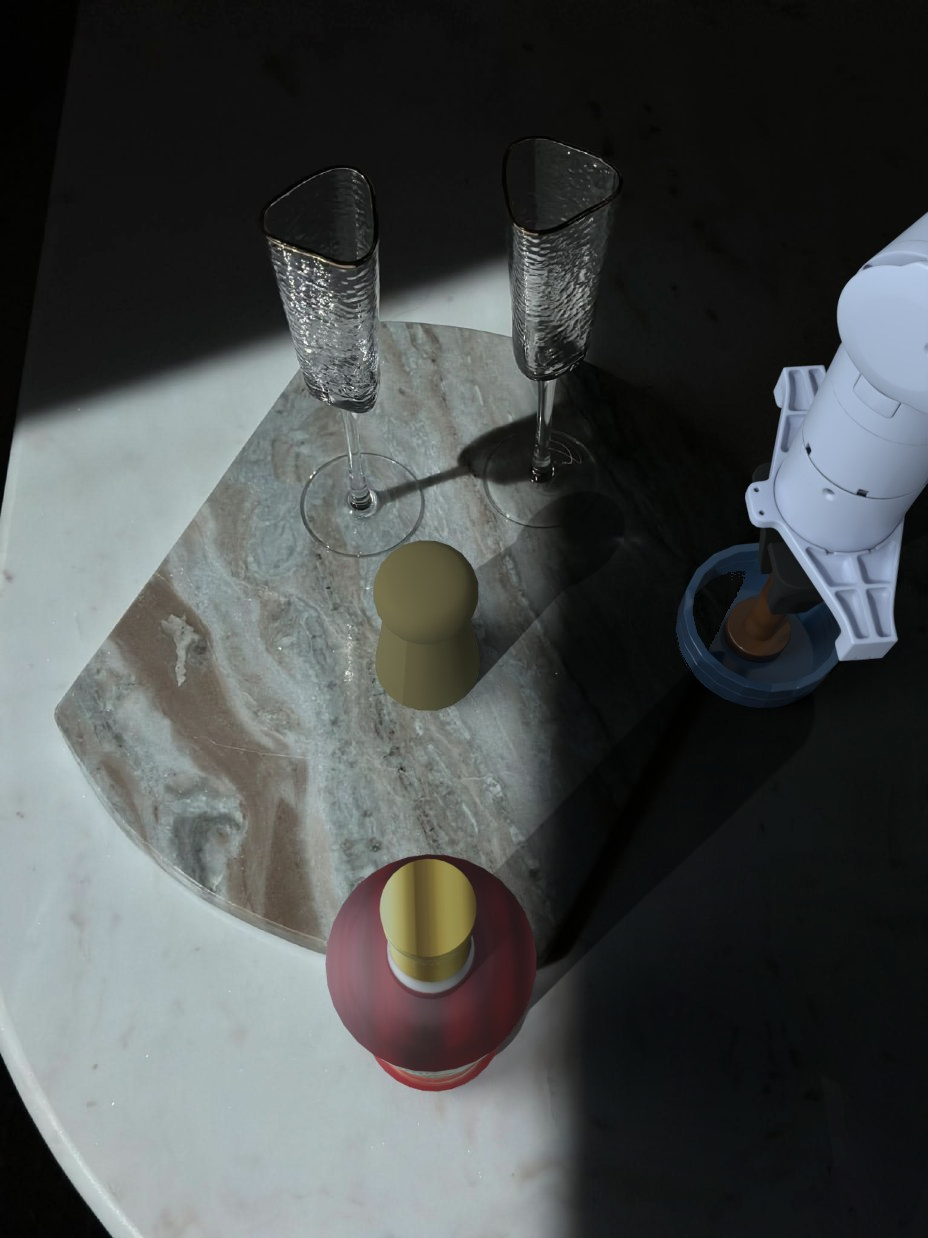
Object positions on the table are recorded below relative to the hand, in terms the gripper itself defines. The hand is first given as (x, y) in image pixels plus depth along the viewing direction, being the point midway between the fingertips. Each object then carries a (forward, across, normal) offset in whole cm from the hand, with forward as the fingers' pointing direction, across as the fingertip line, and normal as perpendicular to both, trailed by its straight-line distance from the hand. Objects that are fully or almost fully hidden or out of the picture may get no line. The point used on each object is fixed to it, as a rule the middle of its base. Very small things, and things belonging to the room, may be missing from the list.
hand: (782, 587), depth 60 cm
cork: (+7, 0, -19) cm, 20 cm away
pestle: (+6, 0, 0) cm, 6 cm away
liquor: (+7, +19, -20) cm, 28 cm away
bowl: (+6, 0, 0) cm, 6 cm away
